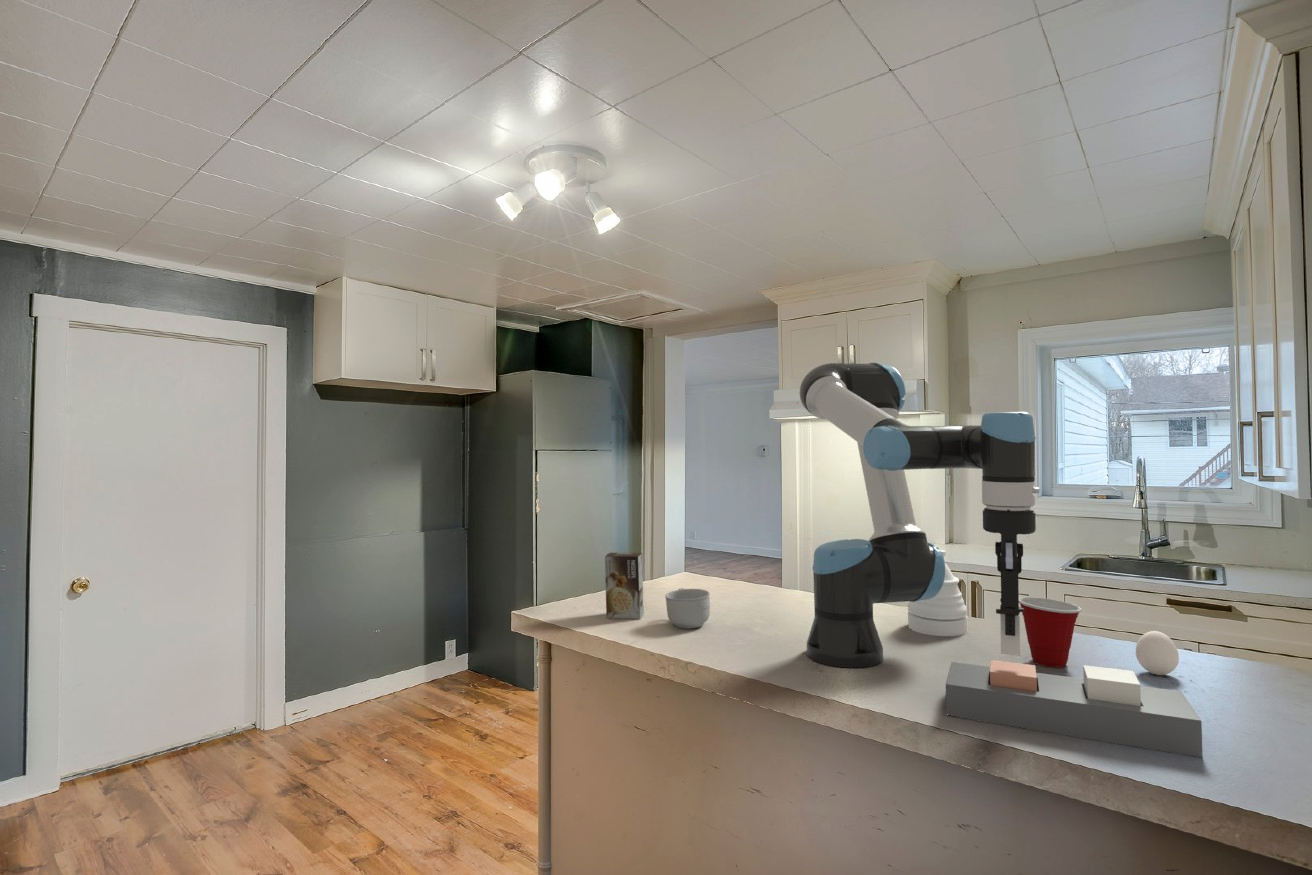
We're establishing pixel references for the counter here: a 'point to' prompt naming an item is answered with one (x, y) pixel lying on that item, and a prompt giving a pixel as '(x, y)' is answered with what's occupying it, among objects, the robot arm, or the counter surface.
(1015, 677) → the terracotta key
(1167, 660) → the egg
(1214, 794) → the counter surface
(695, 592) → the teacup
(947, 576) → the honey pot
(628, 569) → the coffee box
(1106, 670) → the offwhite key
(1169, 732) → the key console
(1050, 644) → the plastic cup
